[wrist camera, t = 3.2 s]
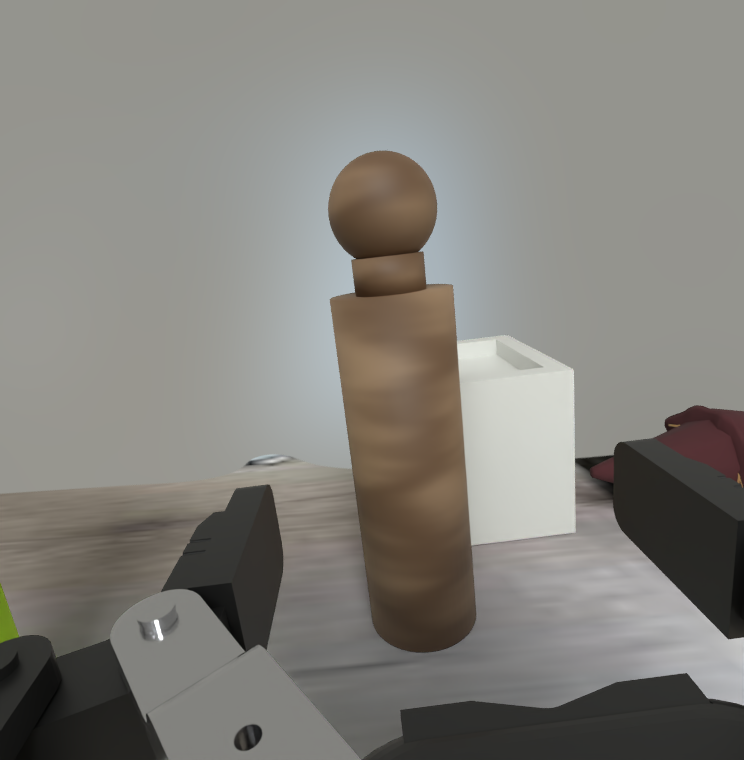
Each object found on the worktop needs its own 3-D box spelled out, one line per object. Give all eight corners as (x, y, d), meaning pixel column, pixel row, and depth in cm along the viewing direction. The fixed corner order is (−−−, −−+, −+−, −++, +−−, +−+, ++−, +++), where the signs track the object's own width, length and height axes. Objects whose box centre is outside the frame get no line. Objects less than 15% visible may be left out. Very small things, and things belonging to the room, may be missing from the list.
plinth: (378, 557, 30) (358, 395, 27) (370, 472, 41) (355, 353, 39) (575, 532, 30) (573, 369, 27) (512, 454, 41) (506, 335, 39)
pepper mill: (374, 659, 22) (305, 145, 17) (370, 584, 27) (315, 170, 22) (488, 644, 22) (455, 128, 17) (463, 572, 27) (431, 157, 22)
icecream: (644, 464, 24) (924, 444, 25) (573, 388, 30) (798, 376, 32) (611, 565, 27) (859, 543, 29) (553, 477, 34) (757, 463, 35)
